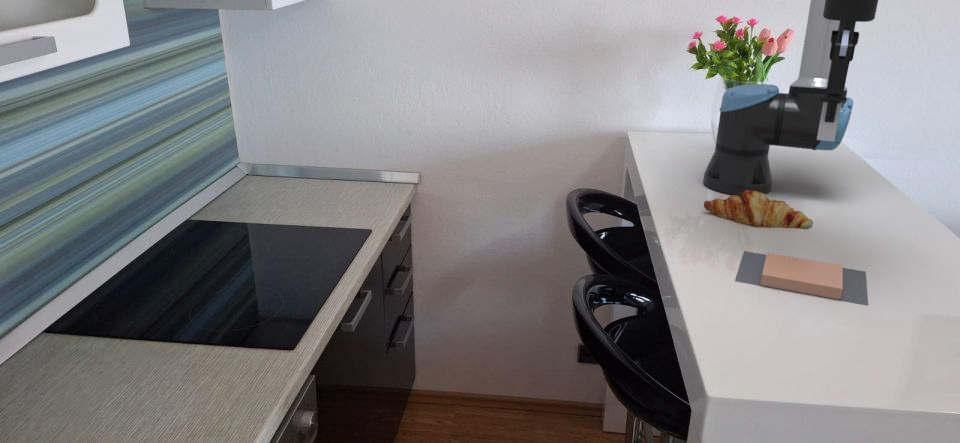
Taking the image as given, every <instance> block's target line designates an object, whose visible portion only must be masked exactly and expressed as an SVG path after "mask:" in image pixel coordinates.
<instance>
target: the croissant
mask: <svg viewBox="0 0 960 443" xmlns="http://www.w3.org/2000/svg"><path fill="white" fill-rule="evenodd" d="M703 207H704V208H705V210H706V211H707V212H709V213H710V214H712V215H714V216H716V217H718V218H722V219H725V220H728V221H729V220H730V221H733V222H734V223H736V224H744V225H749V226H753V227H760V228H785V229H789V228H791V229H792V228H793V229H794V228H796V229H802V230H809V229H811V228H812V227H813V225H814V221H813V219H811V218H809V217H808V216H807V215H806V214H805V213H803V211H801V210H795V209H794V208H793V207H791V206H790V205H789V204H788V203H786V201H784V200H776V199H772V200H771V199H770V198H769V196H768V195H767V194H763V193H759V192H757V191H749V190H748V191H747V190H746V191H744V192H743V193H742V194H741V195H734V194H731V195H730V196H728V197H727V198H726V199H723V198H715V199H713V200H705V201H703Z"/></svg>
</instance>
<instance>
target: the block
mask: <svg viewBox="0 0 960 443" xmlns="http://www.w3.org/2000/svg"><path fill="white" fill-rule="evenodd" d="M765 255H766V260H765V264H764V268H763V273H762V278H761V284H760V285H762V286H761V287H764V286H767V287H766V288H769V287H773V288H772V289H774V288H778V289H777V290H780V289H784V290H783V291H785V290H789V291H788V292H791V291H795V292H794V293H796V292H800V293H799V294H802V293H805V294H804V295H807V294H811V295H810V296H812V295H816V296H815V297H818V296H822V297H821V298H823V297H827V298H826V299H829V298H833V299H832V300H834V299H838V300H837V301H840V300H839V299H841V294H842V290H843V268H844V267H843V265H841V264H837V263H830V262H825V261H818V260H814V259H813V260H811V259H807V258H799V257H796V256H795V257H794V256H787V255H784V254H776V253H771V252H766V254H765Z"/></svg>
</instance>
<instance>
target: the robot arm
mask: <svg viewBox="0 0 960 443" xmlns="http://www.w3.org/2000/svg"><path fill="white" fill-rule="evenodd" d="M878 3H879V0H810V5H809V10H808V17H807V22H806V29H805V36H804V40H803V47H802V54H801V60H800V67H799V74H798V78H797V79H796V80H794V81H793V82H792V83H791V84H789V90H788V92H787V93H783V92H780V89H779V86H777V85H775V84H767V83H754V84H753V83H751V84H742V85H741V84H740V85H736V86H732V87H730V88H728V89H727V90H725V92H723V95H722V99H721V104H720V107H719V112H720V113H719V120H718V128H717V134H716V142H715V147H714V148H715V149H714V152H713V153H712V156H711V158H710V160H709V162H708V165H707V166H706V168H705V171H704V173H703V180H702V183H703V186H706V187H707V188H709V189H711V190H713V191H716V192H719V193H723V194H729V195H737V196H740V195H741V194H742V193H743V192H744V191H746V190H747V191H748V190H749V191H757V192H759V193H763V194H765V195H767V194H768V193H769V192H771V190H772V185H773V176H772V172H771V165H770V161H769V152H770V146H777V147H785V148H786V147H787V148H796V149H803V150H812V151H818V150H819V151H835V149H837V148H838V147H839V146H840V145H841V143H842V141H843V139H844V137H845V135H846V134H845V133H846V131H847V128H848V126H849V124H850V122H849V121H850V119H851V115H852V112H853V107H854V100H853V99H852V98H851V97H849V96H848V97H847V94H848V88H847V87H846V80H847V76H848V73H849V72H848V71H849V66H850V62H852V61H853V59H854V55H855V49H856V46H857V44H859V37H860V33H859V32H860V31H855V28H856V23H857V22H860V23H862V22H863V23H867V22H872V21H874V20H875V18H876V13H877V9H878V8H877V7H878Z"/></svg>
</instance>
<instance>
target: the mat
mask: <svg viewBox="0 0 960 443" xmlns="http://www.w3.org/2000/svg"><path fill="white" fill-rule="evenodd" d="M766 255H767V254H765V253H764V254H763V253H760V252H759V253H758V252H753V251H746V250H743V253H742V257H741V260H740V264H739V266H738V268H737V269H738V270H737V273H736V276H735V279H734V282H737V283H742V284H748V285H755V286H758V287H764V288H768V289H769V288H770V289H776V290H781V291H784V292H785V291H787V292H792V293H797V294H798V293H799V294H802V295H803V294H804V295H808V296H813V297H819V298H824V299H830V300H834V301H841V302H846V303H852V304H857V305H863V306H867V307H868V306H869V299H868V297H869V296H868V283H867V271H865V270H859V269H852V268H846V267H842V268H843V290H842V294H841V299H839V300H838V299H833V298H827V297H822V296H816V295H811V294H805V293H800V292H795V291H789V290H784V289H778V288H773V287H767V286H762V285H760V284H761V278H762V273H763V268H764V264H765V260H766Z"/></svg>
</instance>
